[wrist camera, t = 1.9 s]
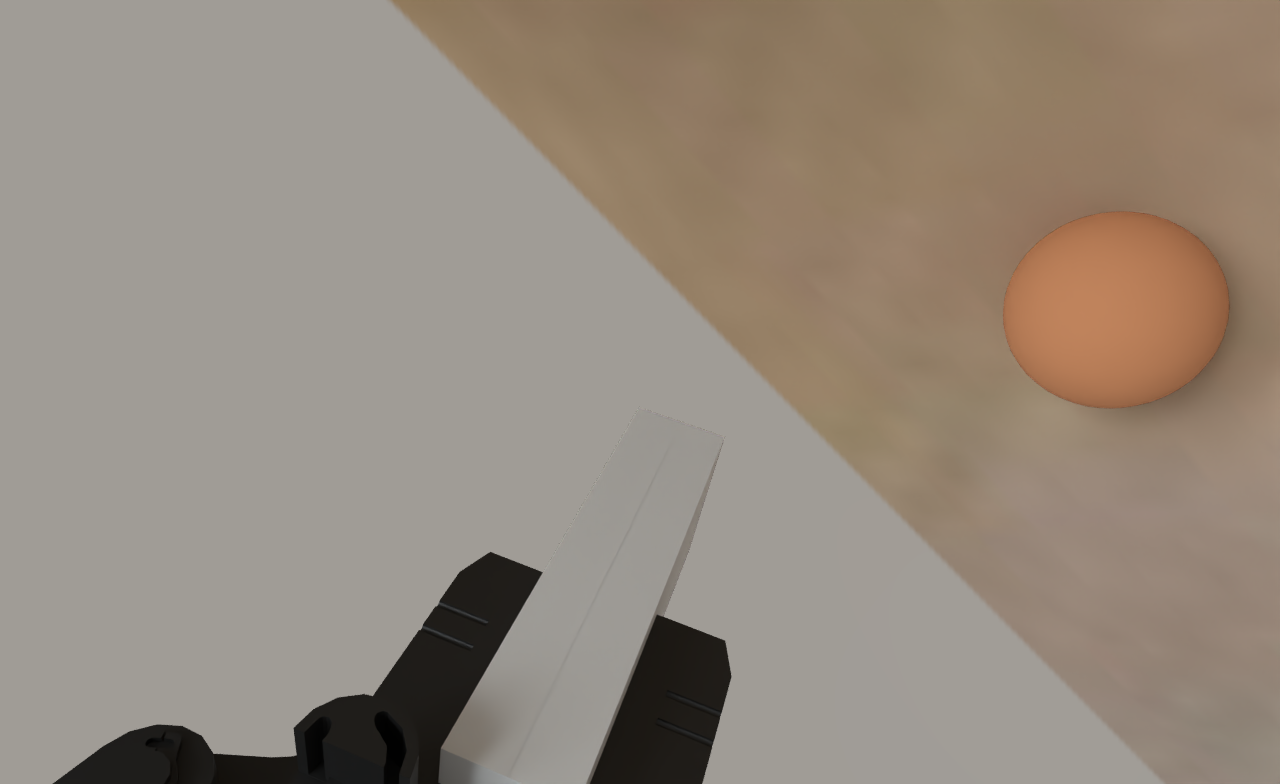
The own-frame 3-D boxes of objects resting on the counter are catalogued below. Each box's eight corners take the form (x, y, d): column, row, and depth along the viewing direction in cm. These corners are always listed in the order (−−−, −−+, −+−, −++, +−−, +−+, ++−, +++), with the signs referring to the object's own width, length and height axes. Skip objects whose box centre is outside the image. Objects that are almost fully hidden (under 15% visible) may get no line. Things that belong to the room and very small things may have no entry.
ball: (1047, 162, 24) (1069, 229, 20) (1243, 216, 23) (1310, 298, 19) (970, 319, 27) (974, 407, 23) (1139, 371, 26) (1176, 473, 22)
